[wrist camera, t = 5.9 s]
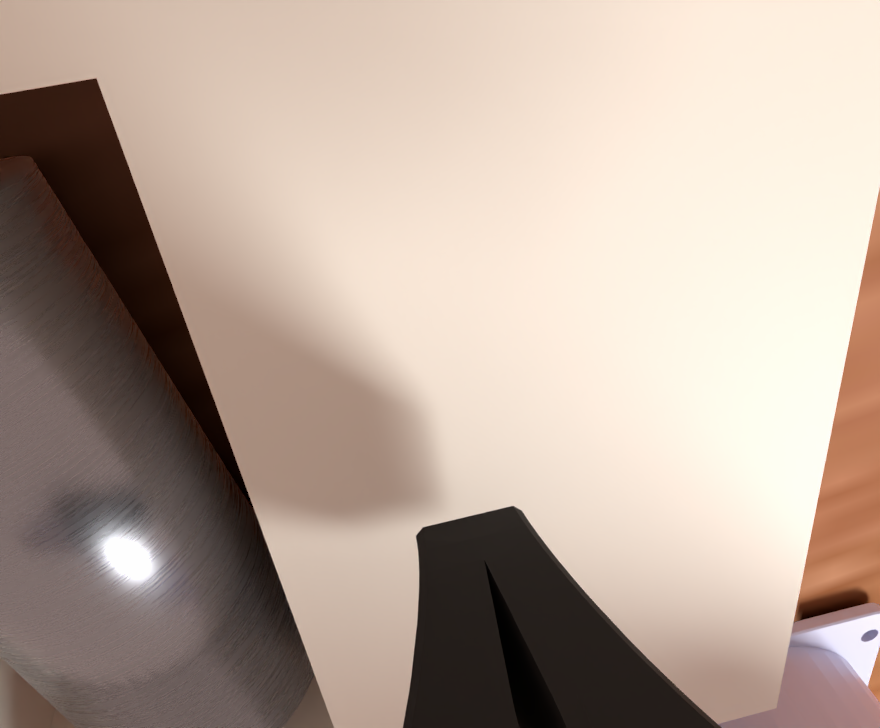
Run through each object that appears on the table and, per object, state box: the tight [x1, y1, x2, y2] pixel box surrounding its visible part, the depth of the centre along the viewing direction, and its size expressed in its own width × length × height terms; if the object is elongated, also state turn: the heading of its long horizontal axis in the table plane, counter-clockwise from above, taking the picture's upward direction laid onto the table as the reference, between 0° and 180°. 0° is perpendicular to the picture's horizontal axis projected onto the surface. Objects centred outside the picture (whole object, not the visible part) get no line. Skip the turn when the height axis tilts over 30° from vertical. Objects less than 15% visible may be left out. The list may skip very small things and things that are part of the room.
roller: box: [0, 156, 314, 728], centre depth 12 cm, size 10×4×4 cm, turn 17°
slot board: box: [0, 0, 880, 728], centre depth 12 cm, size 16×18×4 cm
